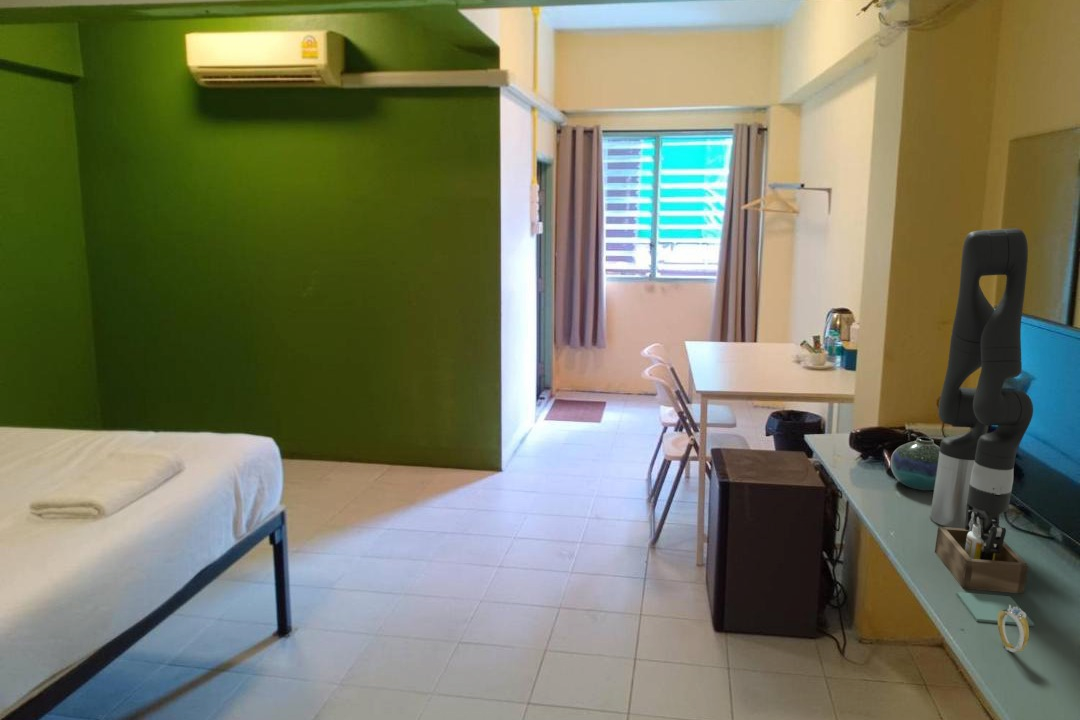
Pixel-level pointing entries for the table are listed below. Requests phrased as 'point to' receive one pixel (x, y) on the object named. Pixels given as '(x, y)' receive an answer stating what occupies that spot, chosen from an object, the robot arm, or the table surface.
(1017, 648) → the ring
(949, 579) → the table surface
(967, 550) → the supplement bottle
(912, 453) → the vase
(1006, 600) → the mat
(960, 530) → the box
